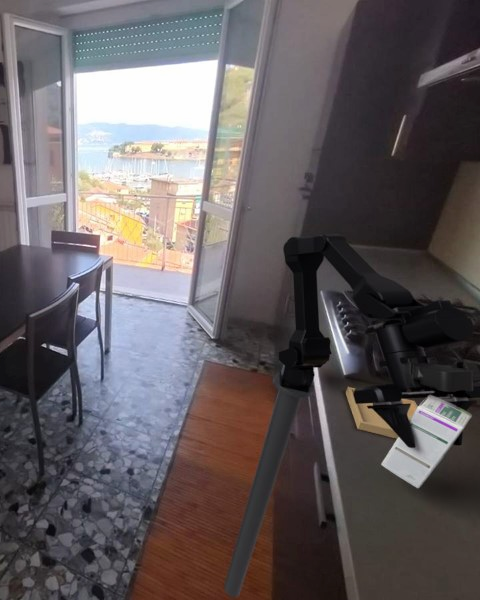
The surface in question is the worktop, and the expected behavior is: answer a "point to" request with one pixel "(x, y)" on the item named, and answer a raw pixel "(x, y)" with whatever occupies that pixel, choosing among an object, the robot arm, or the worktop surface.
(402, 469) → the syrup box
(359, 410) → the tray
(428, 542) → the worktop surface
